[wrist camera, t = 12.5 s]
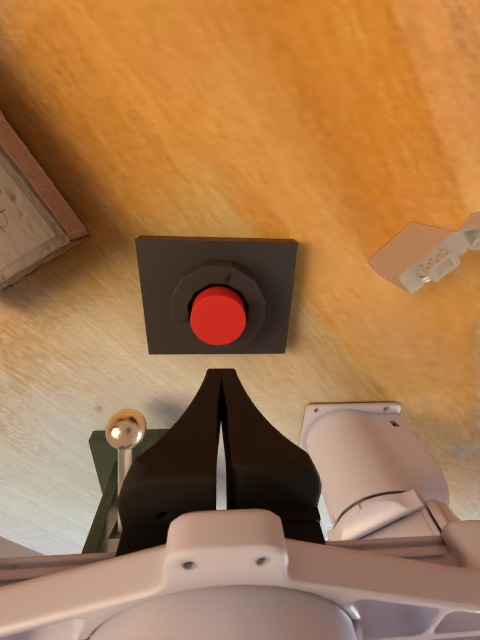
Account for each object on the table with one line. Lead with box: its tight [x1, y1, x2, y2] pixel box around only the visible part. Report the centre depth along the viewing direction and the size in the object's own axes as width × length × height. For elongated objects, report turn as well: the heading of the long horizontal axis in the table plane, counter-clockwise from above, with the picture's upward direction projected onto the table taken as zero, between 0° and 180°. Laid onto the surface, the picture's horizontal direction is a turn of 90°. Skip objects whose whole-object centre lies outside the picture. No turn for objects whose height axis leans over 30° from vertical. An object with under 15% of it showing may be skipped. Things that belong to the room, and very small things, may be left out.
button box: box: [135, 236, 298, 354], centre depth 21 cm, size 11×9×3 cm
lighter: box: [368, 212, 480, 293], centre depth 18 cm, size 7×2×8 cm, turn 134°
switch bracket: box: [81, 429, 170, 554], centre depth 26 cm, size 10×9×9 cm
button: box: [190, 286, 246, 345], centre depth 20 cm, size 4×4×2 cm
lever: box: [105, 409, 147, 553], centre depth 24 cm, size 12×3×3 cm, turn 177°
